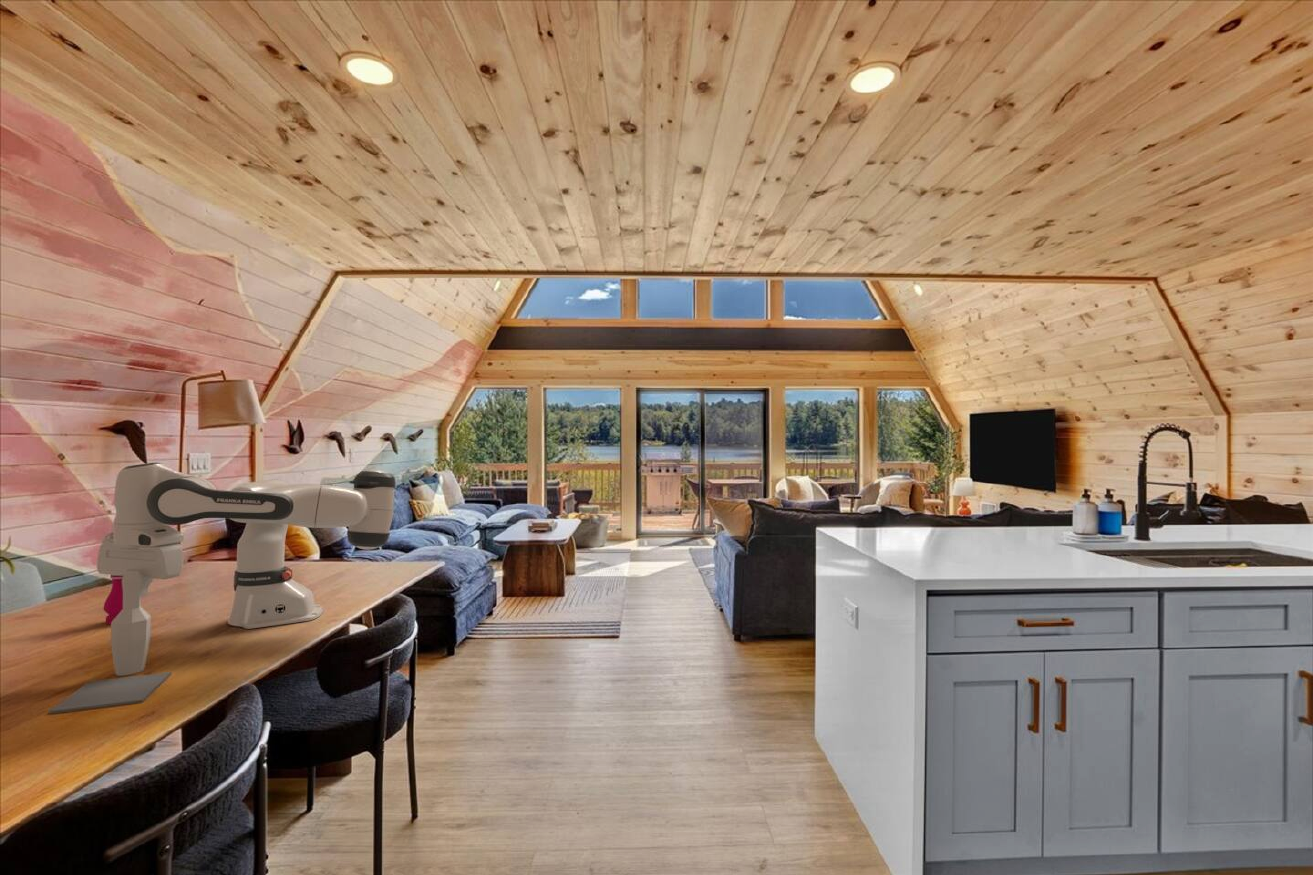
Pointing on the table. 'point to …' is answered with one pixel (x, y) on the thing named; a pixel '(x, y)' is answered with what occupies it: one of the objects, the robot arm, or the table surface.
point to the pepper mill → (114, 599)
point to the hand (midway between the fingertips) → (138, 595)
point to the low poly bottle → (130, 628)
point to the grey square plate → (111, 692)
